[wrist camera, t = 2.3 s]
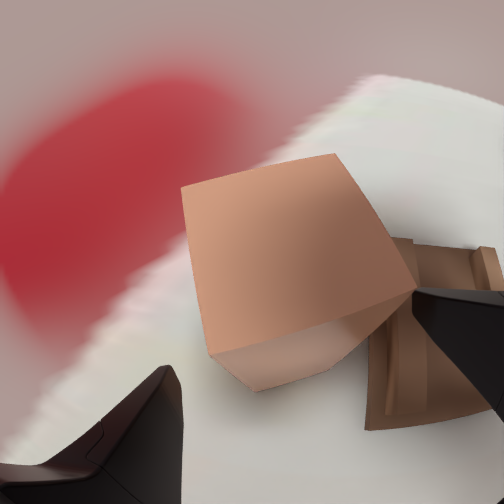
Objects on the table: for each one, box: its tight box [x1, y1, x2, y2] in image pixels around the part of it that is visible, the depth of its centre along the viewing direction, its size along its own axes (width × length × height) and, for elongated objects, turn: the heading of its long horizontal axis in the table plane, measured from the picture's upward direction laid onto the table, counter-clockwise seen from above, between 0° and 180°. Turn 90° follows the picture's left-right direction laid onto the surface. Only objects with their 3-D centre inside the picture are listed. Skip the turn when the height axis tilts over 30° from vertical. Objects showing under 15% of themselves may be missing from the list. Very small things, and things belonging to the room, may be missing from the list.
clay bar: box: [181, 153, 417, 392], centre depth 12 cm, size 5×5×13 cm
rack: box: [365, 237, 504, 431], centre depth 16 cm, size 14×13×3 cm
